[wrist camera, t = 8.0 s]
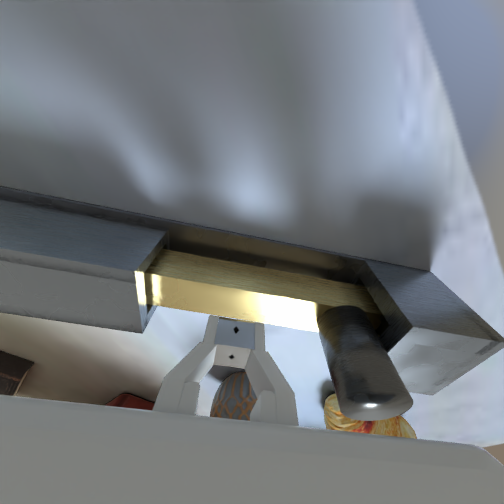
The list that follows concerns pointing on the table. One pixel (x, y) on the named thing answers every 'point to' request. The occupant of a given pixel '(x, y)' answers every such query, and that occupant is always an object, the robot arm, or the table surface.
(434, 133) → the table surface
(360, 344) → the sliding bolt
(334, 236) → the table surface
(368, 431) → the croissant
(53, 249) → the guide
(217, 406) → the vase
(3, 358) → the hardcover book
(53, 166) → the table surface
